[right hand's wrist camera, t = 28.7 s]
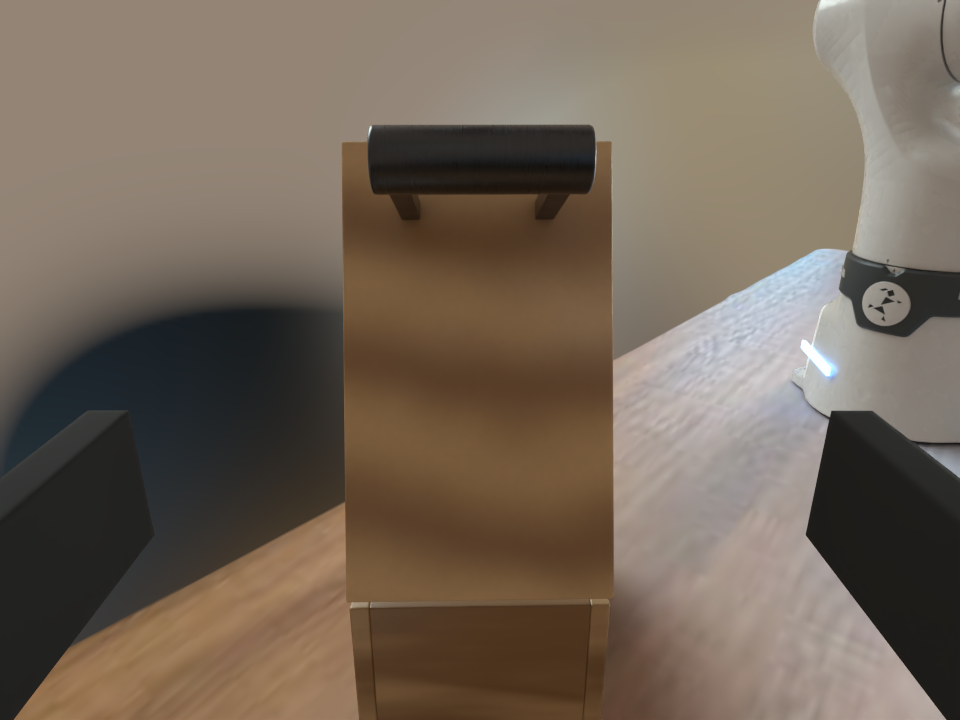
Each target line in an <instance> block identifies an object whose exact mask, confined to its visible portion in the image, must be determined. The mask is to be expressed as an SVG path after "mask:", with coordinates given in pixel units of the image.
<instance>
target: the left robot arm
mask: <svg viewBox="0 0 960 720" xmlns="http://www.w3.org/2000/svg"><path fill="white" fill-rule="evenodd" d="M813 41H814V47H815V50H816V53H817V56H818V58H819V61H820V62H821V64H822V66H823V67H824V69H825V70H826V71H827V72H828V73H829V74H830V75H831V76H832V77H833V78H834V79H835V80H836V81H838V83H839V84H840V85H841V86H842V88H843V89H844V90H845V92H846V93H847V95H848V96H849V98H850V100H851V102H852V104H853V107H854V109H855V111H856V114H857V117H858V120H859V123H860V127H861V131H862V136H863V141H864V151H865V174H864V183H863V191H862V198H861V205H860V212H859V218H858V224H857V230H856V235H855V240H854V245H853V250H851V251H849V252H848V253H847V254H846V258H845V262H844V265H843V266H842V270H841V281H840V286H839V290H840V291H841V292H842V293H841V295H840V296H839V297H838V298H837V299H836V300H834V301H832V302H830V303H828V304H827V305H825V306H824V307H823V308H822V310H821V313H820V316H819V320H818V323H817V327H816V331H815V334H814V338H813V342H812V345H811V346H810V345H809V343H808V342H807V341H806V340H802V345H801V348H802V350H803V351H804V352H805V353H806V354H807V355H808V356H809V357H808V360H807V364H806V366H805V367H800V368H796V369H794V370H793V373H792V376H791V380H792V381H793V382H794V383H795V384H796V385H798V386H799V387H801V388H802V390H803V391H804V395H805V398H806V400H807V401H808V403H809V404H810V405H811V406H812V407H814V408H815V409H816V410H818V411H819V412H821V413H822V414H824V415H826V416H828V417H830V414H831V411H873V412H875V413H876V414H877V415H879V416H880V417H881V418H882V419H884V420H885V421H886V422H888V423H889V424H890V425H891V426H893V427H894V428H895V429H897V430H898V431H899V432H901V433H902V434H903V435H904V436H906V437H907V438H908V439H910V440H911V441H918V442H931V443H960V0H819V2H818V5H817V8H816V12H815V16H814V23H813Z"/></svg>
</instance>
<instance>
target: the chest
mask: <svg viewBox="0 0 960 720" xmlns="http://www.w3.org/2000/svg"><path fill="white" fill-rule="evenodd" d="M609 615H610V603H609V599H552V600H481V601H411V602H351V605H350V620H351V632H352V643H353V655H354V666H355V678H356V690H357V701H358V713H359V720H601V709H602V697H603V686H604V674H605V662H606V650H607V639H608V627H609Z"/></svg>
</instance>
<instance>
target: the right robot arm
mask: <svg viewBox="0 0 960 720" xmlns="http://www.w3.org/2000/svg"><path fill="white" fill-rule="evenodd" d="M153 536H154V531H153V527H152V522H151V517H150V512H149V507H148V502H147V497H146V492H145V488H144V483H143V478H142V473H141V468H140V463H139V458H138V453H137V449H136V444H135V439H134V434H133V429H132V424H131V419H130V414H129V411H87V412H85V413H84V414H83V415H81V416H80V417H79V418H78V419H76V420H75V421H74V422H72V423H71V424H70V425H69V426H67V427H66V428H65V429H63V430H62V431H61V432H59V433H58V434H57V435H56V436H54V437H53V438H52V439H50V440H49V441H48V442H47V443H45V444H44V445H43V446H41V447H40V448H39V449H37V450H36V451H35V452H34V453H32V454H31V455H30V456H28V457H27V458H26V459H25V460H23V461H22V462H21V463H19V464H18V465H17V466H15V467H14V468H13V469H12V470H10V471H9V472H8V473H6V474H5V475H4V476H3V477H1V478H0V720H14V718H15V717H16V716H17V714H18V713H19V712H20V710H21V709H22V708H23V707H24V705H25V704H26V703H27V701H28V700H29V699H30V697H31V696H32V695H33V693H34V692H35V691H36V689H37V688H38V687H39V686H40V684H41V683H42V682H43V680H44V679H45V678H46V676H47V675H48V674H49V672H50V671H51V670H52V668H53V667H54V666H55V665H56V663H57V662H58V661H59V659H60V658H61V657H62V655H63V654H64V653H65V651H66V650H67V649H68V647H69V646H70V645H71V644H72V642H73V641H74V640H75V638H76V637H77V636H78V634H79V633H80V632H81V630H82V629H83V628H84V626H85V625H86V624H87V623H88V621H89V620H90V619H91V617H92V616H93V615H94V613H95V612H96V611H97V609H98V608H99V607H100V605H101V604H102V603H103V602H104V600H105V599H106V598H107V596H108V595H109V594H110V592H111V591H112V590H113V588H114V587H115V586H116V584H117V583H118V582H119V581H120V579H121V578H122V577H123V575H124V574H125V573H126V571H127V570H128V569H129V567H130V566H131V565H132V563H133V562H134V561H135V560H136V558H137V557H138V556H139V554H140V553H141V552H142V550H143V549H144V548H145V546H146V545H147V544H148V542H149V541H150V540H151V538H152V537H153ZM806 536H807V537H808V539H809V540H810V541H811V542H812V544H813V545H814V546H815V548H816V549H817V550H818V552H819V553H820V554H821V556H822V557H823V558H824V560H825V561H826V562H827V563H828V565H829V566H830V567H831V569H832V570H833V571H834V573H835V574H836V575H837V577H838V578H839V579H840V581H841V582H842V583H843V584H844V586H845V587H846V588H847V590H848V591H849V592H850V594H851V595H852V596H853V598H854V599H855V600H856V602H857V603H858V604H859V605H860V607H861V608H862V609H863V611H864V612H865V613H866V615H867V616H868V617H869V619H870V620H871V621H872V623H873V624H874V625H875V626H876V628H877V629H878V630H879V632H880V633H881V634H882V636H883V637H884V638H885V640H886V641H887V642H888V644H889V645H890V646H891V647H892V649H893V650H894V651H895V653H896V654H897V655H898V657H899V658H900V659H901V661H902V662H903V663H904V665H905V666H906V667H907V668H908V670H909V671H910V672H911V674H912V675H913V676H914V678H915V679H916V680H917V682H918V683H919V684H920V686H921V687H922V688H923V689H924V691H925V692H926V693H927V695H928V696H929V697H930V699H931V700H932V701H933V703H934V704H935V705H936V707H937V708H938V709H939V710H940V712H941V713H942V714H943V716H944V717H945V718H946V720H960V478H959V477H957V476H956V475H955V474H954V473H952V472H951V471H950V470H948V469H947V468H946V467H945V466H943V465H942V464H941V463H939V462H938V461H937V460H935V459H934V458H933V457H932V456H930V455H929V454H928V453H926V452H925V451H924V450H923V449H921V448H920V447H919V446H917V445H916V444H915V443H913V442H912V441H911V440H910V439H908V438H907V437H906V436H904V435H903V434H902V433H901V432H899V431H898V430H897V429H895V428H894V427H893V426H891V425H890V424H889V423H888V422H886V421H885V420H884V419H882V418H881V417H880V416H879V415H877V414H876V413H875V412H873V411H831V414H830V419H829V424H828V429H827V434H826V439H825V444H824V448H823V453H822V458H821V463H820V468H819V473H818V478H817V483H816V487H815V492H814V497H813V502H812V507H811V512H810V517H809V522H808V527H807V531H806Z"/></svg>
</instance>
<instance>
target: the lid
mask: <svg viewBox="0 0 960 720" xmlns="http://www.w3.org/2000/svg"><path fill="white" fill-rule="evenodd" d="M342 218H343V318H344V415H345V514H346V601H347V602H411V601H481V600H552V599H613V598H614V509H613V274H612V142H610V141H606V142H602V141H601V142H600V141H599V142H598V141H596V136H595V131H594V128H593V126H591V125H372V126H370V129H369V132H368V141H367V142H342Z"/></svg>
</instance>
